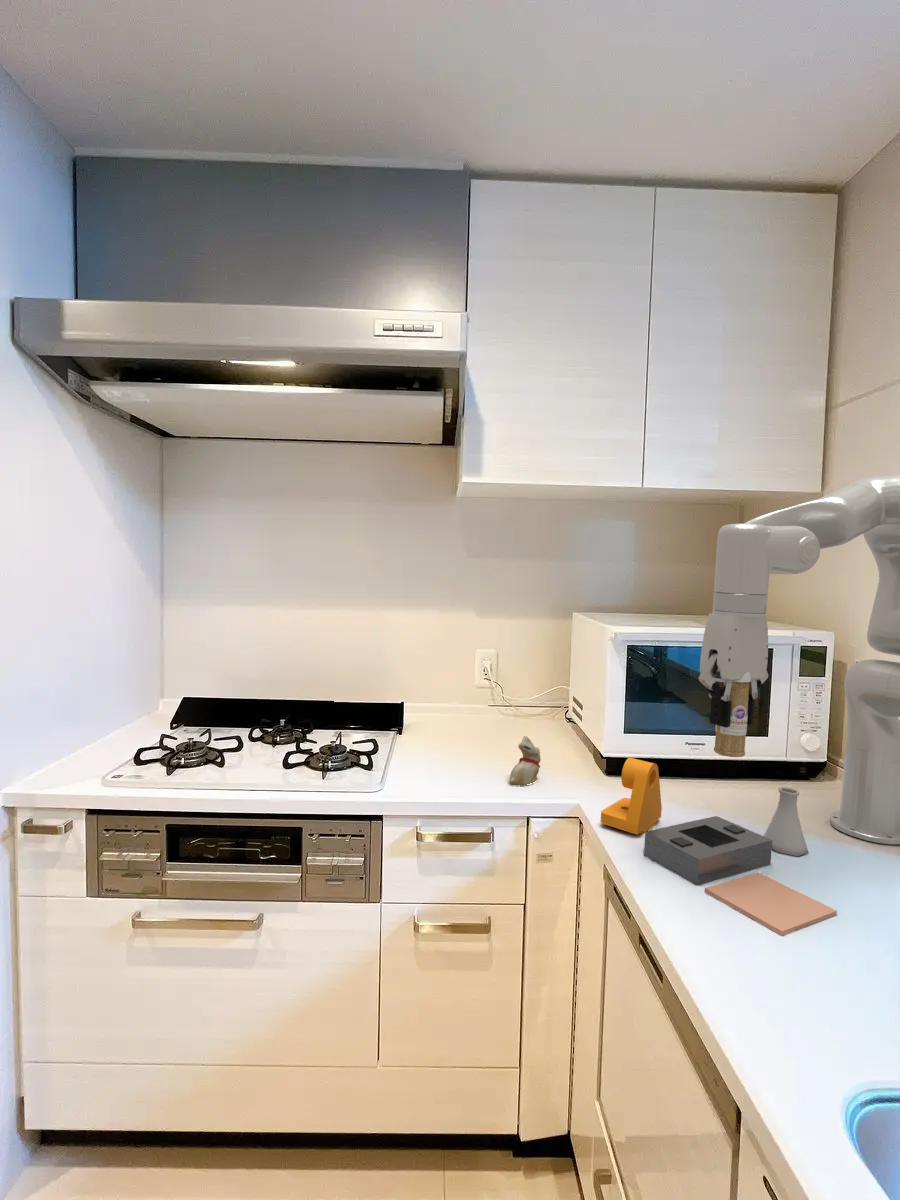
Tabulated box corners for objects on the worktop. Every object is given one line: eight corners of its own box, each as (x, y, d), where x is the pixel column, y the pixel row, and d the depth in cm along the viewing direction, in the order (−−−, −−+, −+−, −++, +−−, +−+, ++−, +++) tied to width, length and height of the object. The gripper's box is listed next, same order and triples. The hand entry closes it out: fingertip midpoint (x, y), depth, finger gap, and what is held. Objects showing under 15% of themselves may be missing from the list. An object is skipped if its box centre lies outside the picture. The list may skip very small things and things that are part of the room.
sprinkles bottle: (729, 759, 96) (735, 670, 96) (706, 750, 101) (712, 665, 100) (752, 757, 98) (758, 669, 97) (728, 748, 102) (734, 664, 102)
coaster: (758, 875, 99) (758, 872, 99) (836, 915, 88) (836, 910, 88) (704, 892, 93) (704, 887, 93) (781, 935, 83) (782, 931, 83)
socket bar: (714, 838, 112) (716, 814, 112) (770, 864, 103) (772, 838, 103) (643, 855, 104) (645, 830, 104) (697, 885, 95) (699, 858, 95)
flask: (766, 834, 115) (770, 779, 115) (812, 847, 111) (817, 790, 110) (756, 847, 109) (760, 789, 109) (803, 861, 105) (808, 801, 104)
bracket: (623, 810, 123) (627, 749, 123) (660, 821, 119) (664, 757, 118) (598, 826, 115) (602, 760, 114) (637, 839, 111) (641, 770, 110)
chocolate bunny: (546, 785, 136) (549, 738, 135) (512, 787, 134) (514, 739, 133) (535, 776, 141) (538, 731, 141) (502, 778, 139) (504, 732, 138)
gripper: (754, 604, 105) (747, 714, 106) (680, 603, 98) (672, 722, 99) (797, 608, 99) (789, 725, 100) (721, 607, 91) (712, 734, 92)
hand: (731, 722), depth 99 cm, fingers closed on sprinkles bottle, 4 cm apart
